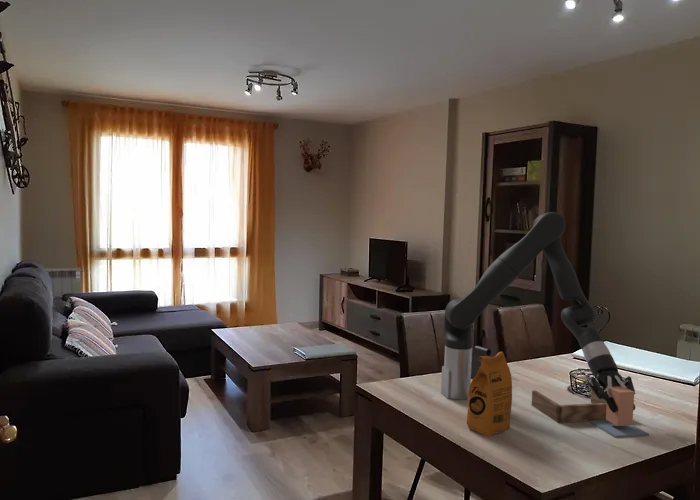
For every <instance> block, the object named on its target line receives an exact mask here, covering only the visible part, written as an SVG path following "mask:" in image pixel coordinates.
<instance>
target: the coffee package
mask: <svg viewBox="0 0 700 500" xmlns="http://www.w3.org/2000/svg"><path fill="white" fill-rule="evenodd" d="M478 360H479V361H481V366H480V367H479V370H478V373H477V375H476V376H475V377H474V379H471V384H470V387H469V391H468V398H467V410H466V411H467V412H466V422H465V423H466V425H467V427H468V429H469V430H473V431H474V432H476V433H478V434H480V435H483V436H486V437H491V436H493V435H494V434H497V433H499V434H500V433H502V434H503V433H505V431H507V430H508V429H510V428H511V416H512V415H511V414H512V404H513V379H512V373H511V371H510V366H509V365H508V362H507V358H506V357H505V354H504V352H503V351H499V352H497V354H496V355H495V356H491V357H486V356H484V357H482V356H480V357H479V358H478Z"/></svg>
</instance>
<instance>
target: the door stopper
mask: <svg viewBox="0 0 700 500" xmlns="http://www.w3.org/2000/svg"><path fill="white" fill-rule="evenodd" d="M473 348H474V349H473V356H472V362H471V380H473V379H474V377H475V376H476V375H477V373H478V370H479V367H480V366H481V361H479V360H478V358H479V357H480V356H482V357H484V356H486V357H492V349H491V348H488V347H485V346H480V345H475V346H474V347H473Z"/></svg>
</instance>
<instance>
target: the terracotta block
mask: <svg viewBox="0 0 700 500" xmlns="http://www.w3.org/2000/svg"><path fill="white" fill-rule="evenodd" d="M610 392H611V394H612V398H613V399H614V401H615V403H616V405H617V407H618V411H617V412H612V411H611V410H610V408H609V406H608V404H607V407H606V420H608V421H610V422H611V423H613V424H615V425H617V426H625V425H633V421H634V411H633V407H634V404H635V395H634V391H632V390H630V389H627V388H625V387H620V386H615V387H612V388H610Z"/></svg>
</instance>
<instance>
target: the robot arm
mask: <svg viewBox="0 0 700 500" xmlns="http://www.w3.org/2000/svg"><path fill="white" fill-rule="evenodd" d="M566 224H567V223H566V220H565V218H564V216H563V215H562V214H560V213H558V212H555V211H549V212H544V213H542V214H540V215H538V216H537V217H536V218H535V219H534V221H533V222H532V227H531V228H530V230H529V231H528V232H527V234H525V235H524V236H523V237H522V238H521V239H520V240H519V241H517V242H516V243H513V245H512V246H511V247H509V248H508V249H506V250H505V251H504V252H502V253H501V254H500V255H499V256H498V257H497V258H496V259H495V260H494V261H493V262H492V263H491V264H490V265H489V266H488V267H487V268H486V270H485V271H484V273H483V274H482V276H481V277H480V279H479V281H478V282H477V283H476V285H475V286H474V288H473V289H472V290H471V291H470V292H469V293H468V294H467V295H466V296H464V297H463V298H456V299H453V300H450V301H449V302H448V303H447V305H446V307H445V311H444V332H443V333H444V363H443V365H442V366H441V382H440V384H441V385H440V387H441V388H440V393H441V395H443V396H444V397H445V398H446V399H453V400H468V391H469V387H470V384H471V382H472V378H471V363H472V359H473V356H472V355H473V338H472V325H473V324H474V323H476V322H475V321H476V320H477V319H478V318H480V317H479V316H481V315H482V313H483V311H485V309H486V308H487V307H488V306H489V305H490V304H491V303H492V302H493V301H494V300H495V299H497V298H498V296H500V295H501V294H502V293H503V292H504V291H505V290H506V289H507V288H508V287H509V286H511V284H512V283H514V282H515V281H516V280H517V279H518V277H520V276H521V274H522V273H523V272H524V271H525V270H526V269H527V268H528V267H529V266H530V264H531V263H532V262H533V261H534V260H535V259H536V258H537V257H538V255H539V254H541V252H544V254H545V256H546V260H547V262H548V265H549V267H550V270H551V273H552V276H553V279H554V282H555V285H556V287H557V291H558V294H559V297H560V299H561V300H563V301H572V300H573V301H577V302H578V303H579V304H575V305H573V306H571V305H570V306H568V307H565V308H563V309H562V310H561V312H560V318H561V321H562V323H563V325H565V327H566V328H567V329H568V330H569V331H570V332H571V333H572V334H573V336H574V337H575V338H576V340H577V342H578V344H579V346H580V349H581V350H582V353H583V356H584V359H585V361H586V364H587V365H588V366H587V367H588V368H589V370H590V372H591V374H592V376H593V377H592V378H591V379H590V380H589V381H588V382H587V384H588V385H589V387H590V388H591V389H592V390H593V391H594V393H595V394H596V395H597V397H598V398H599V399H604V400H605V401H606V402H607V404H608V406H609V408H610V410H611V411H612V412H617V411H618V407H617V405H616V403H615V401H614V399H613V398H612V394H611V392H610V388H612V387H615V386H620V387H625V388H627V389H630V390H632V391H634V396H635V395H636V391H635V387H634V386H635V385H634V383H633V381H632V377H631V376H629V375H628V376H627V377H625V376H624V377H623V376H622V375H621V373H619V370H618V365H617V363H616V362H615V360H614V357H613V355H612V354H611V352H610V350H609V348H608V346H607V345H606V343H605V341H604V339H603V337H602V336H601V334H600V331H599V330H598V329H597V328H596V327H592V326H591V327H588V326H587V325H590V324H593V323H594V322H595V321H596V318H597V314H596V311H595V309H594V308H593V306H592V305H591V303H590V302H589V301H588V299H587V297H586V296H585V294H584V292H583V290H582V288H581V285H580V281H579V279H578V276H577V273H576V271H575V269H574V267H573V265H572V263H571V262H570V259H569V258H568V256H567V254H566V252H565V249H564V247H563V244H562V240H561V237H562V235H563V234H564V232H565V230H566ZM591 318H592V319H591ZM592 320H593V321H592ZM583 326H586V327H583ZM599 392H600V393H601V394H600V393H599ZM635 410H636V405H635V403H634V407H633V412H634V411H635Z"/></svg>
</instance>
